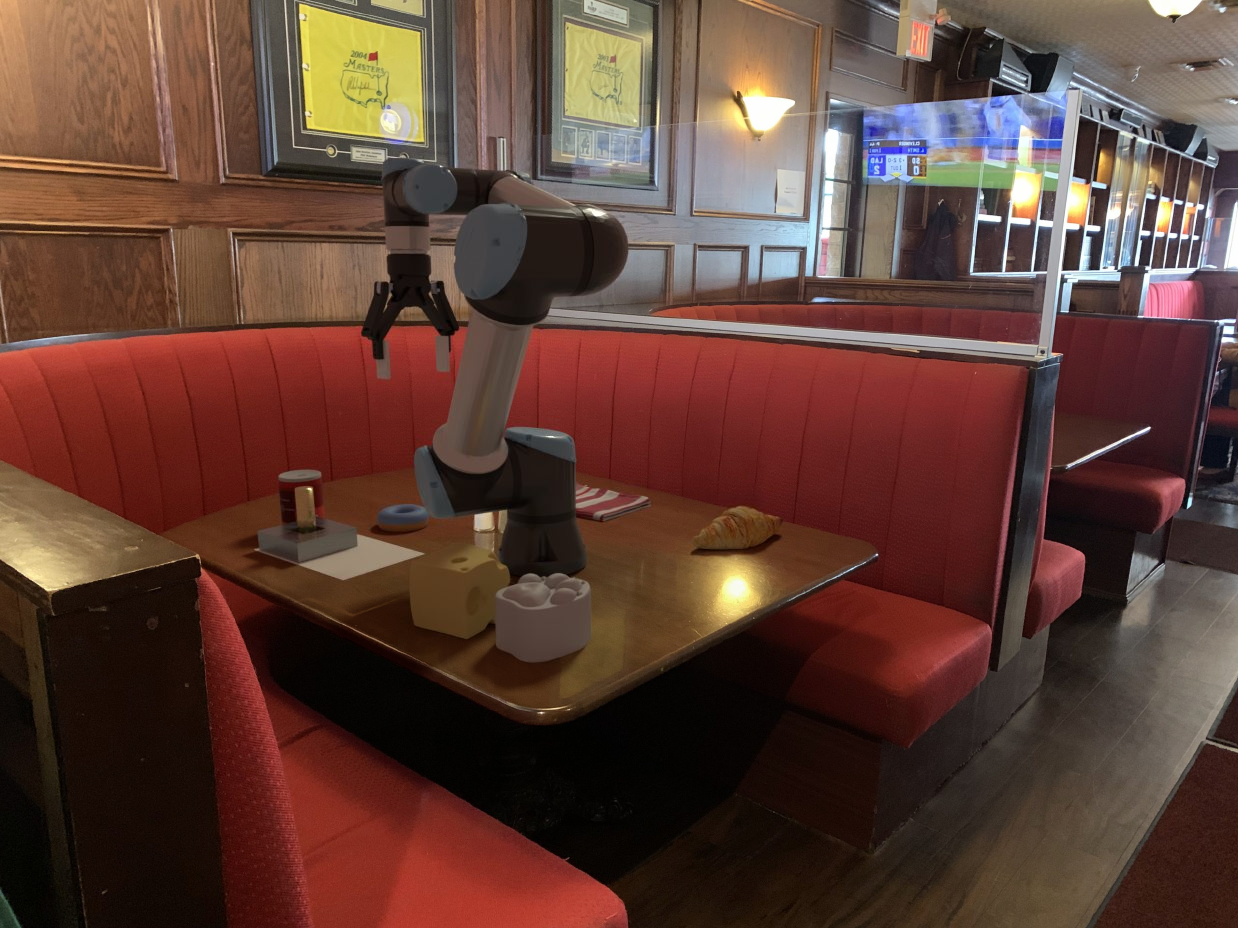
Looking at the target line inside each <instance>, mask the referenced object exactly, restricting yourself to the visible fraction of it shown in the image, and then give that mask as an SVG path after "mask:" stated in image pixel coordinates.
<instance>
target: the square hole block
mask: <svg viewBox="0 0 1238 928" xmlns="http://www.w3.org/2000/svg"><path fill="white" fill-rule="evenodd" d="M315 521H316V531H315V532H311V533H307V534H301V533H299V532H298V521H296V522H292V523H288V524H284V525H282V524H280V525H276V526H272V527H268V528H264V529H259V530H257V539H258V540H257V541H258V548H259V550H261V551H264V552H267V553H270V554H273V555H276V556H279V557H282V558H285V559H288V560H290V561H293V562H296V563H301V562H305V561H308V560H312V559H315V558H319V557H322V556H326V555H329V554H332V553H336V552H339V551H343V550H346V549H350V548H353V547H356V546H358V543H357V534H358V531H357V527H355V526H352V525H349V524H345V523H342V522H339V521H334V520H331V519H328V518H325V517H324V518H321V517H318V516H316V517H315Z"/></svg>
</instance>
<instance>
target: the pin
mask: <svg viewBox="0 0 1238 928" xmlns="http://www.w3.org/2000/svg"><path fill="white" fill-rule="evenodd" d="M295 497H296V509H297V520H298V532H299V533H301V534H307V533H311V532H315V531H316V521H315V508H314V496H313V487H311V486H302V487H297V488H295Z"/></svg>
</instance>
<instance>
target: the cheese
mask: <svg viewBox="0 0 1238 928" xmlns="http://www.w3.org/2000/svg"><path fill="white" fill-rule="evenodd" d="M408 579H409V582H408V584H409V587H408V588H409V602H410V610H411V611H410V612H411V615H412V621H413V626H415V627H417V628H418V627H419V628H421V629H426V630H430V631H433V632H438V633H442V634H446V635H449V636H453V637H457V638H460V639H462V640H463V639H464V640H469V639H470V638H472V637H475V636H476V635H478V634H479V633H481V632H483V631H484V630H486V627H487V626H488V624H491V625H492V624H494V625H496V622H495V595H496V593H497V592H498V591H499V590H501V589H503V588H506V587H509V585H510V583H511V574H510V573H509V570H508V568H507V566H505V565H503V564H502V563H501V562H500V561H499V559H498V555H496V552H493V551H492V550H489V549H487V548H484V547H480V546H478V545H474V544H471V543H467V542H464V541H463V542H462V541H454V542H452V543H449V544H448V545H446V546H445V547H442V548H440V549H438V550H436V551H434V552H432V553H429V554H427V555H424V556H422V557H421V556H420V557H419V558H416V559H413V560H411V562H410V569H409V578H408Z"/></svg>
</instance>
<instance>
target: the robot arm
mask: <svg viewBox="0 0 1238 928" xmlns="http://www.w3.org/2000/svg"><path fill="white" fill-rule="evenodd" d="M381 165H382V166H381V172H382V173H381V178H380V179H381V181H380V182H381V185H382V198H383V214H384V217H383V218H384V231H385V233H384V234H385V249H386V250H387V251H389V253H388V254H387V255H386V269H387V270H386V271H387V272H386V273H387V275H388V276H389V282H388V281H386V280H385V281H382V280H381V281H379V280H378V281H375V282H374V283H373V295H372V299H371V302H370V304H369V307H368V311H367V313H366V317H365V320H364V323H363V325H362V328H361V330H360V331H361V332H360V334H361V337H362V338H367V340H369V341H371V347H372V349H371V350H372V358H373V360H375V363H376V364H375V365H376V378H377V379H381V380H390V379H392V377H391V376H392V374H391V359H390V343H389V342H390V341H389V340H385V338H386V337H387V335H388V333H389V332H390V330H391V329H392V326H393V325H394V323H395V322H396V320H397V318H398V317H399V315H400V313H401V312H402V310H405V308H413V307H414V308H419V309H421V311H422V312H423V314H424V315H425V317H426V318H427V319H428V320H429V322H430V323H431V325H432V326H433V327H434V329H435V330H436V331H437V333H438V334H439V335H434V341H435V362H436V365H435V366H436V372H444V373H450V370H451V368H450V367H451V366H450V353H451V351H452V345H451V344H452V342H451V341H452V340H451V339H452V338H451V337H452V336H455V334H456V332H459V330H460V326H459V323H458V321H457V319H456V315H455V314H454V311H453V308H452V306H451V303H450V302H449V299H448V297H447V294H446V290H445V283H444V281H443V280H430V276H431V274H432V259H431V258H432V256H431V255H430V254H428V251H431V233H430V215H432V216H433V215H439V216H465V217H464V219H463V220H462V222H461V224H460V227H459V229H458V232H457V235H456V240H455V243H454V250H453V251H454V252H453V256H454V257H455V259H454V262H453V271H454V272H453V273H454V279H455V282H456V285H457V287H458V289H459V291H460V293H462V295H463V298H464V300H465V302H466V304H467V305H468V306H469V308H470V309H471V311H470V315H469V316H470V317H469V320H468V325H467V330H466V333H465V337H464V343H463V347H462V352H461V357H460V360H459V365H458V370H457V373H456V374H457V375H456V379H455V383H454V388H453V392H452V397H451V402H450V405H449V406H450V407H449V411H448V415H447V421H446V423H444V424H441V426H439V427H438V428H437V430H435V432H434V435H433V438H432V440H431V441H432V442H431V445H430V446H427V445H423V446H422V447H418V448H417V449H415V452H414V455H413V457H414V458H413V464H414V465H413V466H414V473H415V474H414V475H415V479H416V485H417V489H418V492H419V495H420V500H421V502H422V505H423V507H424V508H425V509H426V511H427V512H428V514H429V517H432V518H434V519H437V520H441V519H442V520H445V519H457V518H463V517H470V516H475V515H482V514H487V513H494V512H502V511H506V523H505V527H504V530H503V534H502V537H501V542H500V545H499V547H498V550H497V558H498V559H499V561H500V562H501V563H502V564H503V565H505V566H507V568H508V570H509V574H510V575H514V576H518V577H522V576H524V575H526V574H535V575H538V576H539V577H540V578H541V577H543V576H545V577H547V578H548V577H549V576H550V575H552V574H555V573H561V574H565V575H569V574H573V573H575V572H578V571H579V570H582V569H583V568H585V567H586V565H587V562H588V561H587V560H588V559H587V556H588V555H587V548H586V546H585V544H584V542H583V538H582V534H581V532H580V528H579V525H578V520H577V516H576V482H577V479H576V478H577V473H576V472H577V466H576V464H577V456H576V446H575V441H574V439H573V438H572V437H571V436H570V434H567V433H566V432H562V431H558V430H553V429H548V428H539V427H526V426H513V427H507V428H506V425H507V421H508V419H509V418H508V417H509V414H510V410H511V407H512V404H513V401H514V396H515V393H516V389H517V385H518V382H519V379H520V375H521V372H522V367H523V365H524V360H525V356H526V353H527V350H528V346H529V342H530V338H531V337H532V336H531V335H532V332H533V328H534V326H536V325H539V324H540V323H542V322H544V321H545V319H547V317H548V315H549V313H550V309H551V305H552V303H553V300H554V298H563V297H564V298H565V297H572V298H573V297H584V296H585V297H586V296H591V295H594V294H596V293H600V292H601V291H603V290H606V288H608V287H610V286H611V285H612V284H613V283H614V282H615V281H616V280H617V279H618V278H619V277H620V275H621V274H622V272H623V270H624V269H625V267H626V264H627V261H628V257H629V240H628V235H627V232H626V230H625V228H624V225H622V223H621V222H620V220H619V219H618V218H617V217H616V216H614V215H613V214H612V213H610V212H609V211H607V210H604V209H602V208H600V207H598V206H596V205H593V204H590V203H589V204H588V203H579V204H574V203H572V202H570V201H567V200H565V199H563V198H561V197H559V196H556V195H554V194H553V193H550V192H548V191H546V190H543V189H541V188H539V187H538V186H535V184H534V181H533V180H532V177H531V176H530V175H529V174H528V173H526V172H525V171H524V172H522V171H516V170H512V169H505V170H500V169H498V170H497V169H494V170H493V169H479V168H477V169H475V168H465V167H464V168H463V167H449V166H443V165H440V164H438V163H426V162H425V161H424V160H422V159H420V158H416V157H415V158H413V157H393V158H390V157H389V158H386V159H384V161H383V162H382V164H381ZM390 294H391V296H390V297H389V295H390ZM430 294H431V295H430Z"/></svg>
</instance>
